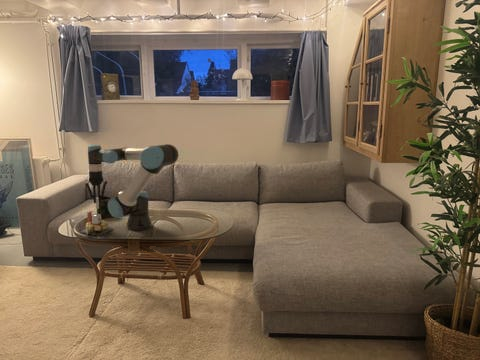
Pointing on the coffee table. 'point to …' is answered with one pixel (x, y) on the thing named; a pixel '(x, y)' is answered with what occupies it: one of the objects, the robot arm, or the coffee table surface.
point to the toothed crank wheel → (95, 227)
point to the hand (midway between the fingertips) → (97, 208)
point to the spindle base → (96, 221)
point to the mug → (104, 206)
